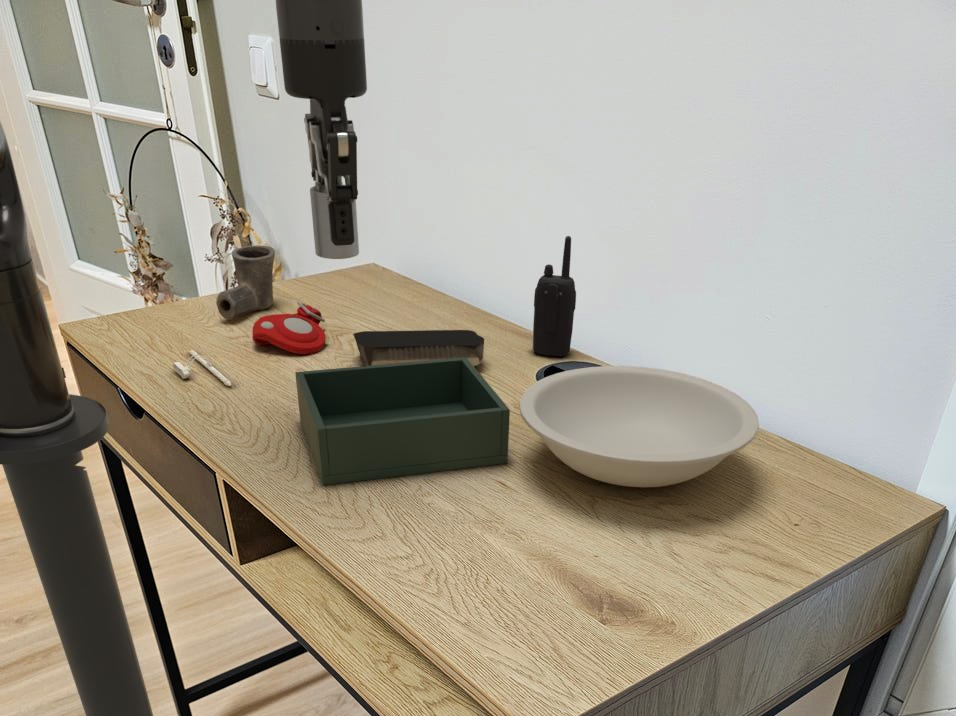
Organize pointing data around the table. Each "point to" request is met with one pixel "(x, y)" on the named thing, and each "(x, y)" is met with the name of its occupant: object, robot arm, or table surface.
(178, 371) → the picture light
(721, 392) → the soup bowl
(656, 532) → the table surface
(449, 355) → the bristle scrub brush
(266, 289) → the pipe
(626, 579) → the table surface
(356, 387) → the bin
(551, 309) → the two-way radio
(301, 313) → the tracker holder
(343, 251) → the metal cylinder
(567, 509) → the table surface
